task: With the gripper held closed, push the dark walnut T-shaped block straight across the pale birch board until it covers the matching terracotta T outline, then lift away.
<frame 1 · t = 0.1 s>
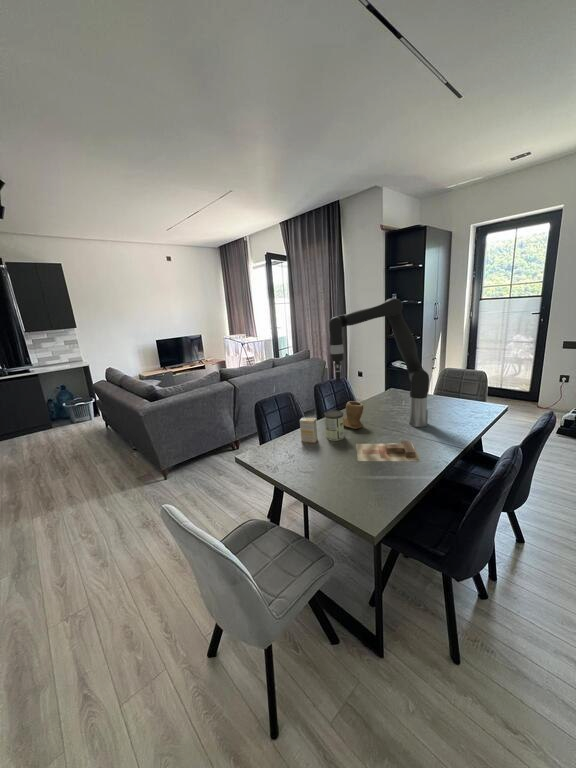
hand: (338, 379, 180), 29 cm above the table, tool pointing down, fingers open, 8 cm apart
terracotta vase: (351, 425, 187), on the table
supplement box: (309, 441, 171), on the table
t block: (399, 451, 149), point 1 cm above the table, touching board
board: (386, 453, 150), on the table
coffee can: (335, 437, 173), on the table
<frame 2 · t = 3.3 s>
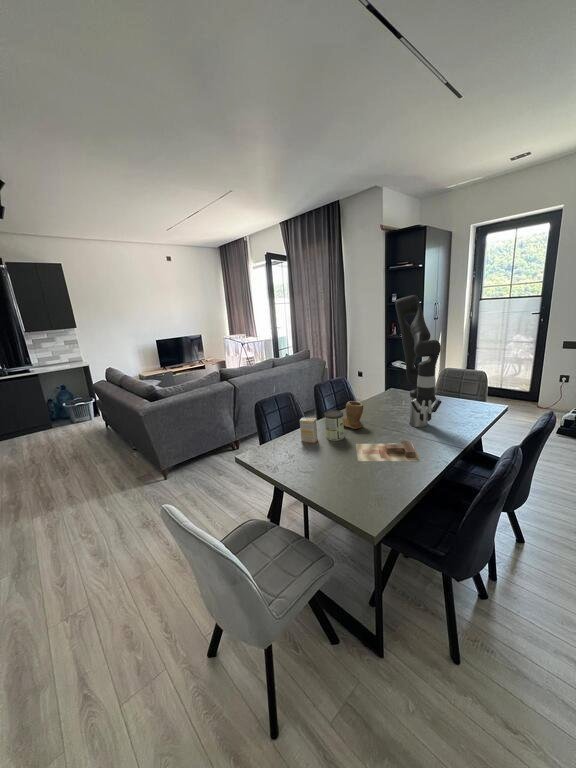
hand: (425, 420, 142), 17 cm above the table, tool pointing down, fingers closed
nothing on the table moved.
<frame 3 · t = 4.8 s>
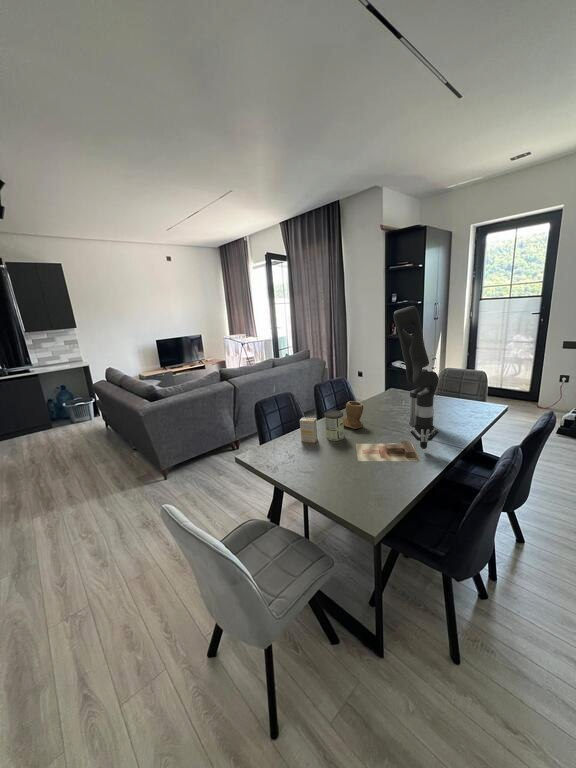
hand: (423, 448, 146), 3 cm above the table, tool pointing down, fingers closed
nothing on the table moved.
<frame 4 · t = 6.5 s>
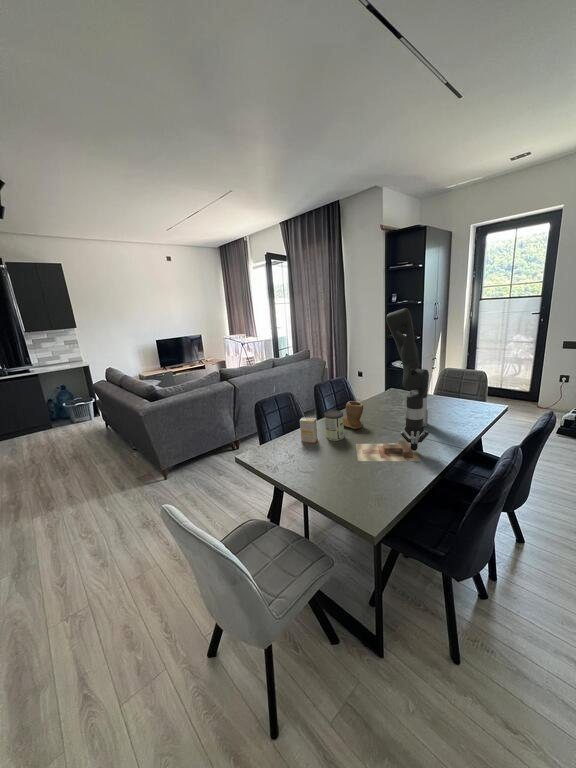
hand: (413, 449, 147), 2 cm above the table, tool pointing down, fingers closed
t block: (396, 451, 149), point 1 cm above the table, touching board, gripper
everything else where it was.
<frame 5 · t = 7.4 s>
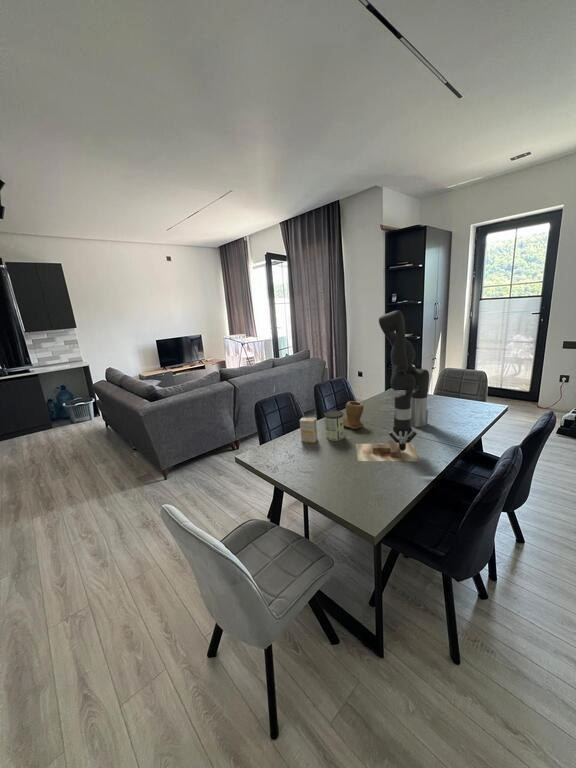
hand: (402, 449, 148), 2 cm above the table, tool pointing down, fingers closed
t block: (385, 451, 150), point 1 cm above the table, touching gripper
everything else where it was.
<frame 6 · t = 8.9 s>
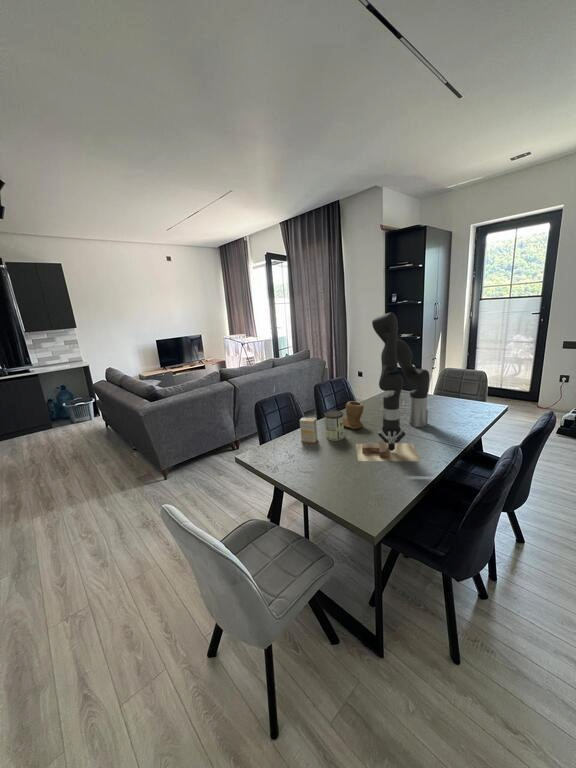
hand: (391, 449, 149), 2 cm above the table, tool pointing down, fingers closed
t block: (374, 451, 151), point 1 cm above the table, touching board, gripper
everything else where it was.
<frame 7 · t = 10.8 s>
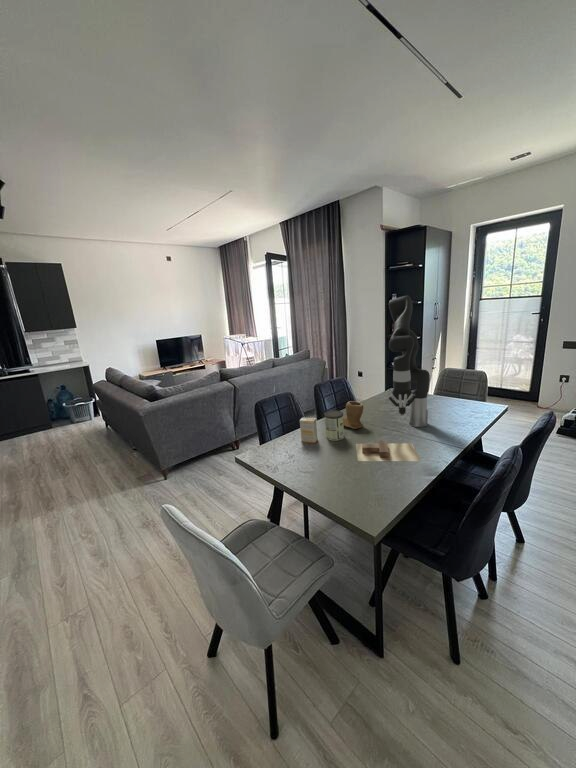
hand: (402, 414, 146), 19 cm above the table, tool pointing down, fingers closed
t block: (374, 451, 151), point 1 cm above the table, touching board
everything else where it was.
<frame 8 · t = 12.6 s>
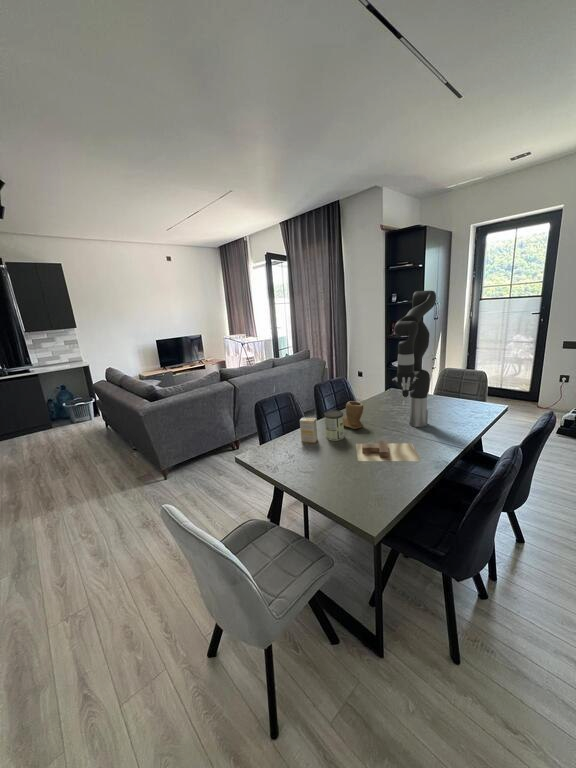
hand: (405, 396, 153), 25 cm above the table, tool pointing down, fingers closed
nothing on the table moved.
at the end: t block 0.6 cm from the target spot, point 1.0 cm above the table; t block tilted 0°; t block moved 11.3 cm from its start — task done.
